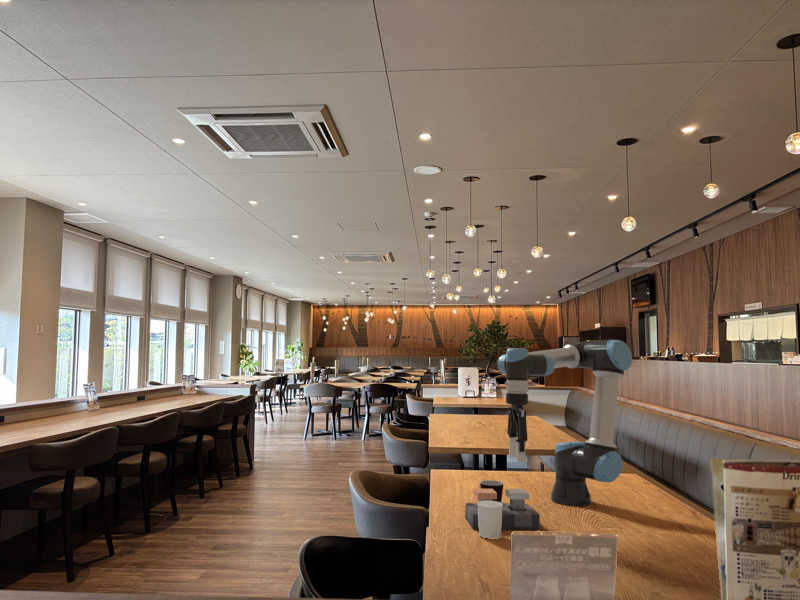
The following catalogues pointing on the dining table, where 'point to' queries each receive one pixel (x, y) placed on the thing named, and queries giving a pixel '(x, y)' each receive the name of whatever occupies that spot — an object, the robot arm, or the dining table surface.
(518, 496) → the light grey cube
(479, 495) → the salmon orange cube
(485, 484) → the coffee mug
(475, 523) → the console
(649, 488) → the dining table surface
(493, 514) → the white cup
